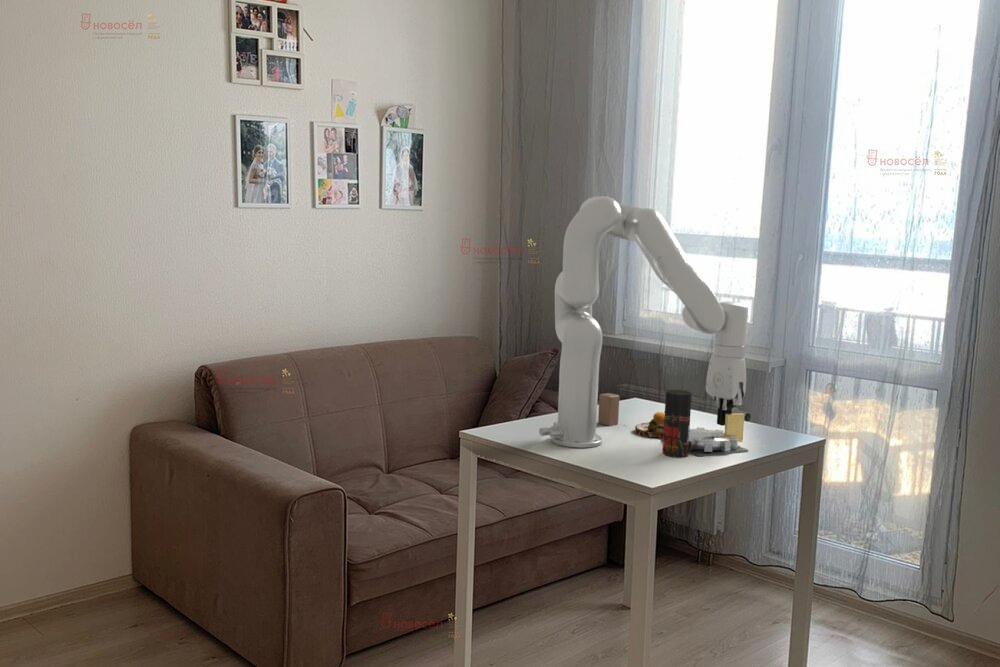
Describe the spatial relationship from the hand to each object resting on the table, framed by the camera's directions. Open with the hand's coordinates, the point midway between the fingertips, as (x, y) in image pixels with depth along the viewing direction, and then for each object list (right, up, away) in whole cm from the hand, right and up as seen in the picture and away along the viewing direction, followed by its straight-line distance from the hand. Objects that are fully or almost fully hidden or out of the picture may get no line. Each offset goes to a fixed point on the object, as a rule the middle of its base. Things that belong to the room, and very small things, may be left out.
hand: (723, 424), depth 230 cm
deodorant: (-14, -6, -12) cm, 20 cm away
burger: (-15, -4, +9) cm, 18 cm away
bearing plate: (-6, -5, -4) cm, 9 cm away
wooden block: (-27, -2, +17) cm, 32 cm away
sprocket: (-5, -4, -4) cm, 7 cm away
